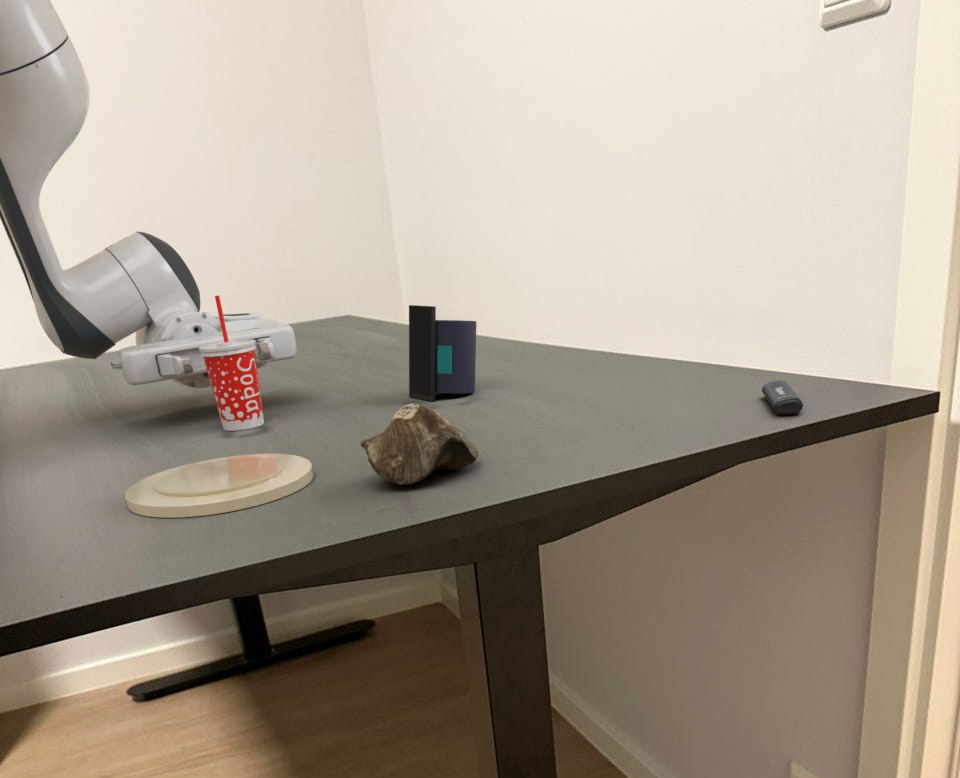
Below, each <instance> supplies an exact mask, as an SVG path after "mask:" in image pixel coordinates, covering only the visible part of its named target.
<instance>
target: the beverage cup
mask: <svg viewBox="0 0 960 778" xmlns="http://www.w3.org/2000/svg"><path fill="white" fill-rule="evenodd" d="M214 299H215V303H216V308H217V315H219V319H220V324H221V328H222V333H223V338H224V341H222V342H218V343H213V344H208V345H205V346H201V347H199V351H200V356H202V357H203V358H204V362H205V365H206V369H207V372H208V376H209V379H210V383H211V386H210V387H211V390H212V393H213V397H214V400H215V404H216V407H217V411H218V412H217V413H218V415H219V418H220V422H221V426H222V429H223V430H224V431H228V432H231V431H232V432H233V431H234V432H235V431H245V430H250V429H254V428H259V427H261V426H263V425H264V424H265V417H264V411H263V410H264V409H263V404H262V403H263V402H262V395H261V388H260V382H259V373H258V369H257V365H256V358H255V351H254V349H256V346H255V344H256V342H255V340H249V339H246V340H228V336H227V331H226V326H225V321H224V316H223V314H224V312H223V307H222V302H221V297H220V295H214Z"/></svg>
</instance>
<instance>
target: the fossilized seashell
mask: <svg viewBox="0 0 960 778" xmlns="http://www.w3.org/2000/svg"><path fill="white" fill-rule="evenodd" d="M360 447H361V448H362V449H364V450H365V452H366V455H367V460H368V462H369V464H370V466H371V468H372V470H373V471H374V472H375V473H376V474H377V475H378V476H379V477H381V478H383V479H385V480H387V481H388V482H391V483H393V484H395V485H400V486H401V485H413V484H416V483H419V482H420V481H422V480H425V478H428V477H429V476H430V475H431V474H432V473H433V472H434V471H448V470H455V469H463V468H465V467H468V466H470V465H472V464H473V463H474V462H475V461H476V460H477V459H478V456H479V451H478V450H477V447H476V444H475V442H473V440H472V438H470V436H469V435H467V434H466V433H465V432H463V431H462V430H460V429H459V428H457V427H456V426H454V425H453V424H452V422H450V421H449V420H448V419H447V418H446V416H445V414H444V413H442V412H439V411H434V410H433V409H431V408H430V407H428V406H425V405H421V404H419V403H408V404H406V405H403V406H402V407H401V408H400V409H399V410H398V411H396V412H395V413H394V414H393V417H392V418H391V420H390V423H389V424H388V426H387V427H386V428H385V429H384V430H383V431H382V432H381V433H379V434H377V435H374V436H372V437H369V438H367V439H362V440H361V441H360Z"/></svg>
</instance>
